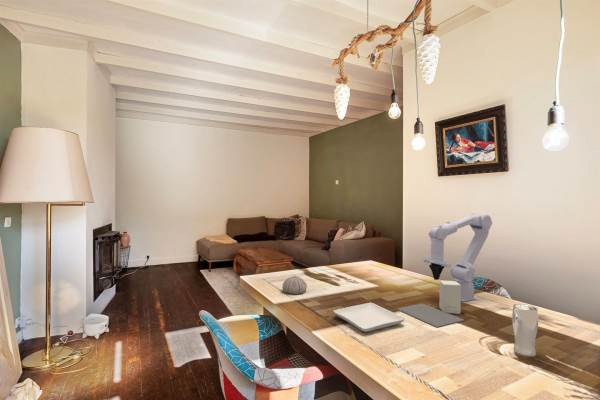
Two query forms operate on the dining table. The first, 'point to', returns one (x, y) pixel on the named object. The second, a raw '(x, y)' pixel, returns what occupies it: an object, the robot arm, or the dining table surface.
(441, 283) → the supplement box
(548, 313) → the dining table surface
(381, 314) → the salad plate
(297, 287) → the sea urchin shell
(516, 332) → the beer glass
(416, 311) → the mat
